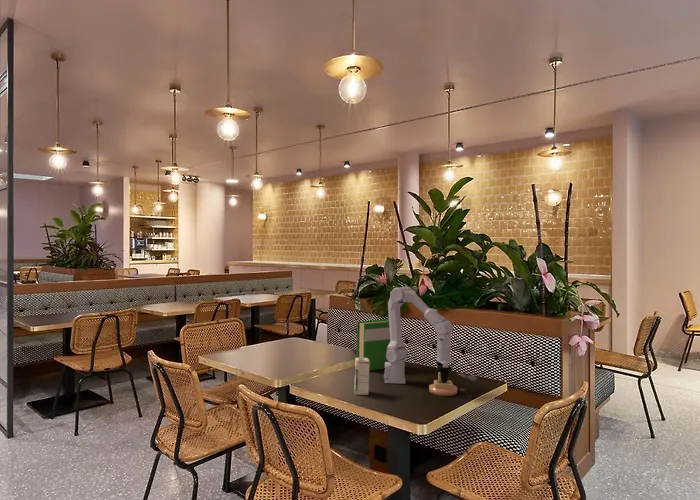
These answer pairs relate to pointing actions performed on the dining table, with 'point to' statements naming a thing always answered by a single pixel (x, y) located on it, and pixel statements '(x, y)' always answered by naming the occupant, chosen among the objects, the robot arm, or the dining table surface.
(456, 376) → the dining table surface
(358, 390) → the syrup box
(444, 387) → the tan rounded piece
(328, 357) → the dining table surface
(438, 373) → the tall wooden block
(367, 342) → the hardback book
